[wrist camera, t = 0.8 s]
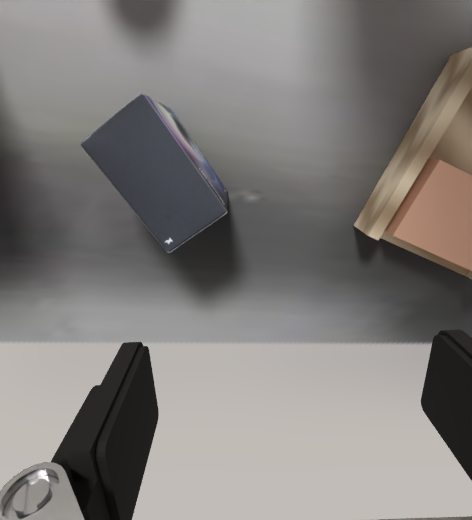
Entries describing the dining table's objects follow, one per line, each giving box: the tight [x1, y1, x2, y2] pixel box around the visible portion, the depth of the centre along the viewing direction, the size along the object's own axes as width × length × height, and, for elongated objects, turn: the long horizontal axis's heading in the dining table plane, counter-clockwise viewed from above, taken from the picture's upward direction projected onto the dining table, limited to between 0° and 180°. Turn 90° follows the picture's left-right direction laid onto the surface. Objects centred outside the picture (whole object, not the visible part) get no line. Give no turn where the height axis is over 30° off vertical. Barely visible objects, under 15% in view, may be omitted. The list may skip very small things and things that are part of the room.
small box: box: [81, 94, 228, 253], centre depth 30 cm, size 11×6×10 cm, turn 35°
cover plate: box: [385, 158, 472, 271], centre depth 34 cm, size 8×11×3 cm
